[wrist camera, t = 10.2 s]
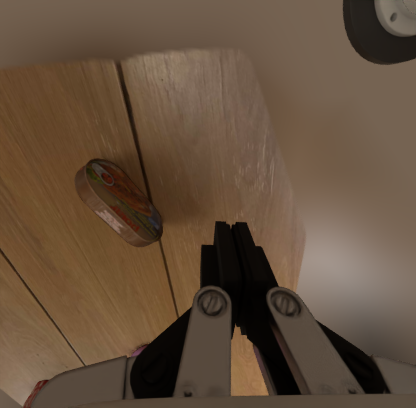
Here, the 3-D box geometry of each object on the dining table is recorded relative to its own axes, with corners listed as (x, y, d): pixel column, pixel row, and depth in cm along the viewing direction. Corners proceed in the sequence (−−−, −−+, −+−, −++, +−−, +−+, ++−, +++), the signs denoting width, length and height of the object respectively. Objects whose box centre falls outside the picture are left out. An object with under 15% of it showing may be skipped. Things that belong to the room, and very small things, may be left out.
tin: (167, 221, 35) (159, 251, 28) (153, 229, 36) (142, 261, 28) (106, 151, 29) (75, 166, 22) (91, 162, 30) (56, 181, 22)
